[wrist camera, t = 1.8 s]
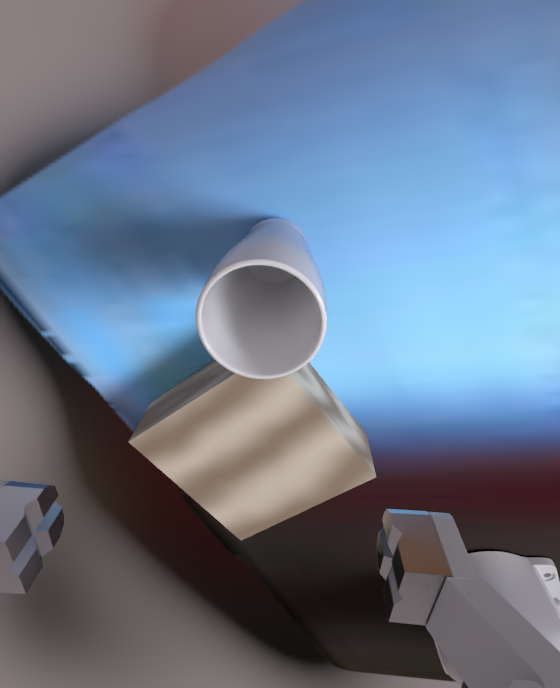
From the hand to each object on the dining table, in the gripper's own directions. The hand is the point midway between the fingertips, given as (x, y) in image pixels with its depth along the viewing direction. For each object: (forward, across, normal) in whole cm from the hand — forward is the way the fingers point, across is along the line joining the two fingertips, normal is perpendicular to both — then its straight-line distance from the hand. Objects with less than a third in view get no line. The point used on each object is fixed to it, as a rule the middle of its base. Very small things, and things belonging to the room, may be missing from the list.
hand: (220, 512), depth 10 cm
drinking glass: (+26, 0, 0) cm, 26 cm away
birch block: (+26, +1, +18) cm, 32 cm away
